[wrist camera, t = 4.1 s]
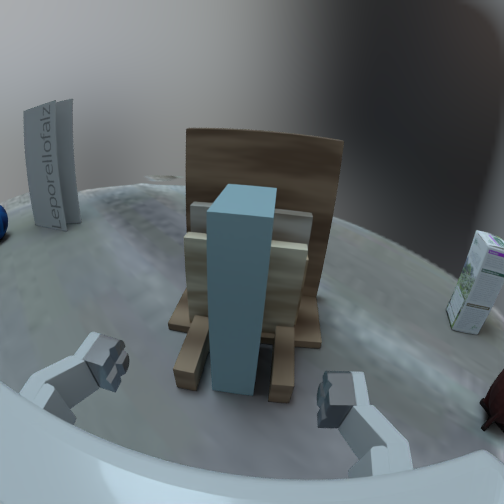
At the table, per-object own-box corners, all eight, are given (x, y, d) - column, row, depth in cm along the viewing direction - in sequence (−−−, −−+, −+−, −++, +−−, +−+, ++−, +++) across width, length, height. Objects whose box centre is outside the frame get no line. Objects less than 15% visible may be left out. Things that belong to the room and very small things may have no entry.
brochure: (35, 225, 57) (23, 111, 43) (49, 217, 62) (39, 108, 48) (66, 231, 54) (54, 100, 41) (81, 222, 59) (72, 98, 45)
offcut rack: (323, 404, 24) (401, 170, 14) (145, 379, 25) (100, 147, 15) (313, 294, 41) (340, 140, 31) (193, 280, 42) (191, 127, 32)
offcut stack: (295, 335, 31) (316, 231, 25) (185, 321, 32) (178, 217, 26) (295, 308, 36) (311, 212, 30) (197, 296, 37) (194, 201, 31)
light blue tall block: (253, 395, 25) (273, 217, 17) (212, 389, 25) (206, 211, 17) (259, 346, 31) (276, 188, 23) (224, 341, 31) (228, 183, 23)
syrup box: (478, 335, 31) (518, 253, 25) (449, 330, 33) (489, 243, 26) (470, 314, 36) (503, 237, 29) (443, 308, 38) (475, 228, 31)
